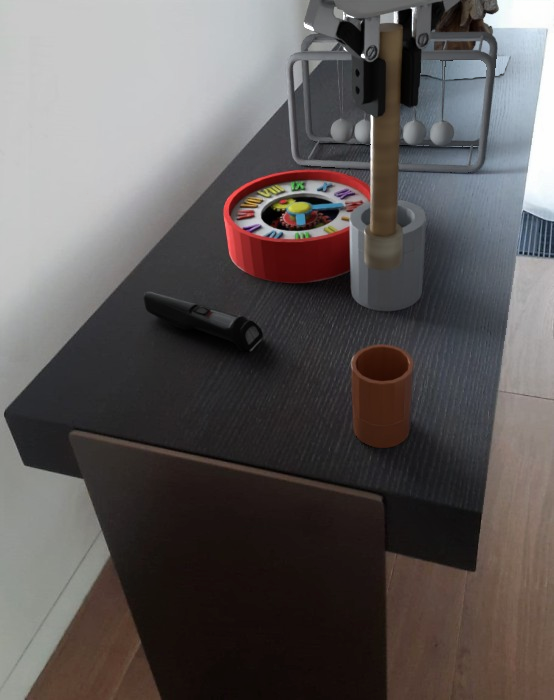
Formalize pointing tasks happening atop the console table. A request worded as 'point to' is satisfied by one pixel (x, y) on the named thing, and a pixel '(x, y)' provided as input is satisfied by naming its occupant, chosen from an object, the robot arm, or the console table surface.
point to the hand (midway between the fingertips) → (385, 104)
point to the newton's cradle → (414, 129)
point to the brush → (386, 161)
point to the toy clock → (294, 225)
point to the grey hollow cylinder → (394, 284)
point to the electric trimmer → (205, 320)
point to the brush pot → (382, 395)
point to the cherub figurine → (465, 22)
